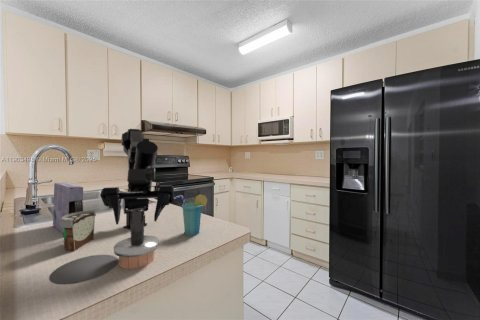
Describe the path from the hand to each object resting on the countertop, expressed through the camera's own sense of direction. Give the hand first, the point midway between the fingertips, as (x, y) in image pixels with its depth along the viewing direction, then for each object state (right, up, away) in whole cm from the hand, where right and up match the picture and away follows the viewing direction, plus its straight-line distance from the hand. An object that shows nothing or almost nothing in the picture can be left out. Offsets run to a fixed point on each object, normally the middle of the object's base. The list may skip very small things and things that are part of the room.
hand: (136, 222), depth 56 cm
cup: (+9, -11, +23) cm, 27 cm away
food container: (-25, -11, +11) cm, 30 cm away
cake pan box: (-39, -11, +26) cm, 49 cm away
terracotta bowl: (0, -11, +2) cm, 11 cm away
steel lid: (0, -7, +2) cm, 7 cm away
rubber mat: (-12, -11, -2) cm, 16 cm away
